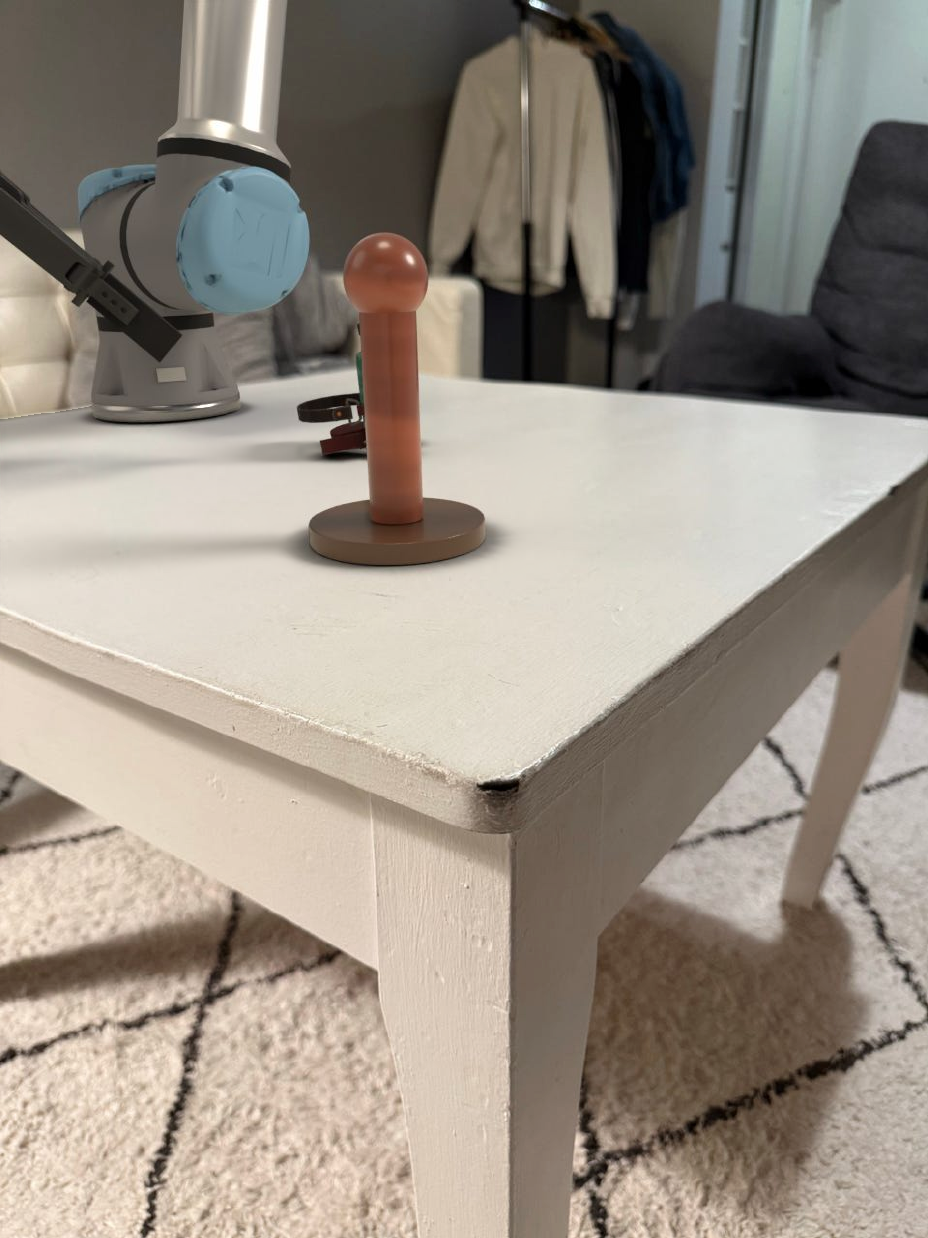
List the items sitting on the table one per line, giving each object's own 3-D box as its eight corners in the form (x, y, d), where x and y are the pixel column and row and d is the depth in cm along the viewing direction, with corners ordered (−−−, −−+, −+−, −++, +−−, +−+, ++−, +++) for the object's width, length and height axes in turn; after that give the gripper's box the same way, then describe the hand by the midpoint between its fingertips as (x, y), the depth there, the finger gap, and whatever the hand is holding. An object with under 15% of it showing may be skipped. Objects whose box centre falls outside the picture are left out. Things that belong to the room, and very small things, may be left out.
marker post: (301, 523, 56) (276, 236, 50) (459, 509, 58) (453, 233, 52) (321, 574, 47) (294, 230, 41) (507, 554, 49) (507, 227, 43)
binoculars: (293, 326, 78) (409, 311, 77) (316, 449, 82) (426, 436, 81) (267, 334, 69) (397, 317, 68) (293, 470, 73) (416, 457, 72)
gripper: (-130, 153, 67) (144, 375, 77) (-197, 130, 55) (136, 396, 65) (-67, 71, 66) (201, 307, 76) (-121, 31, 54) (203, 315, 65)
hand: (170, 348), depth 71 cm, fingers closed
